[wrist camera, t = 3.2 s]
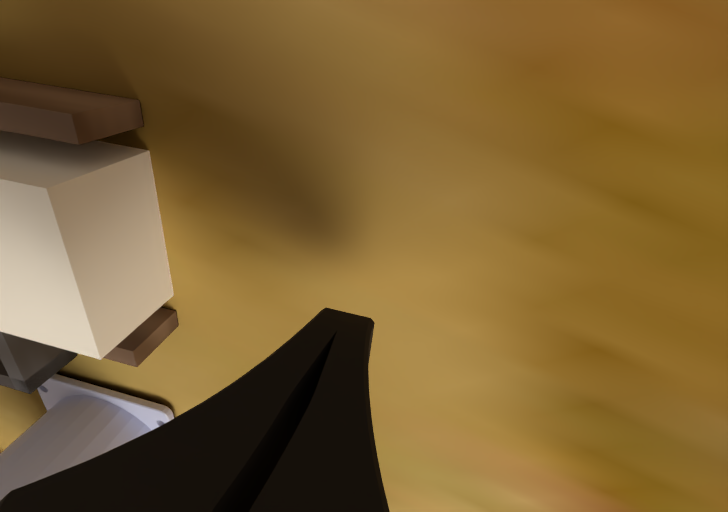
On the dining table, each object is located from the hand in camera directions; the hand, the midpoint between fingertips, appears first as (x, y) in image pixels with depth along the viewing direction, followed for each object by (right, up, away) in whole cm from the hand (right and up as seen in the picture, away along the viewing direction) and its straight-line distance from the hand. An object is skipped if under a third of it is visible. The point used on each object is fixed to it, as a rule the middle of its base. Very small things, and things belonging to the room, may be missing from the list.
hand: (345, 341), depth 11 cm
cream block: (-10, +4, +5) cm, 12 cm away
